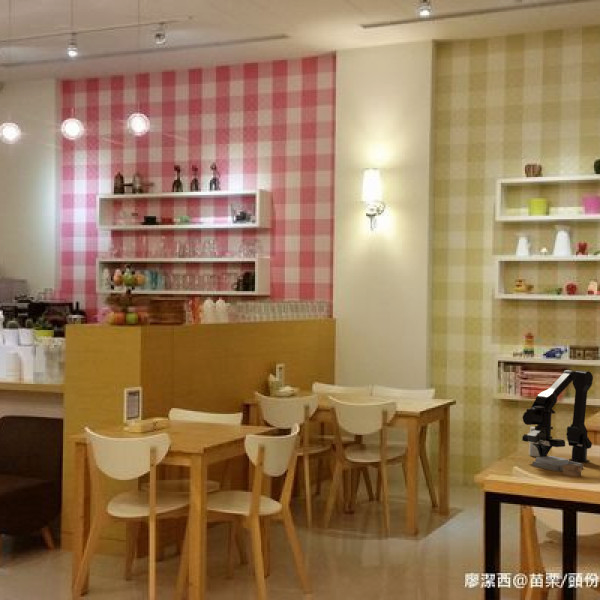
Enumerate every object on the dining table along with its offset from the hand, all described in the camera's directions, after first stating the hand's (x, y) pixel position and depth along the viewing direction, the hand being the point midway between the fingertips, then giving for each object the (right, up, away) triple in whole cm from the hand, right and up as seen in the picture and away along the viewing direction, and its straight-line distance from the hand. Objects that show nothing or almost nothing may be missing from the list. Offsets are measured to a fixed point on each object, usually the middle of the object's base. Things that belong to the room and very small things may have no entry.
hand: (542, 460), depth 387 cm
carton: (+2, -2, -5) cm, 6 cm away
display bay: (+4, -2, -6) cm, 7 cm away
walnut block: (+6, -2, -23) cm, 24 cm away
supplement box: (+4, -2, +23) cm, 24 cm away
